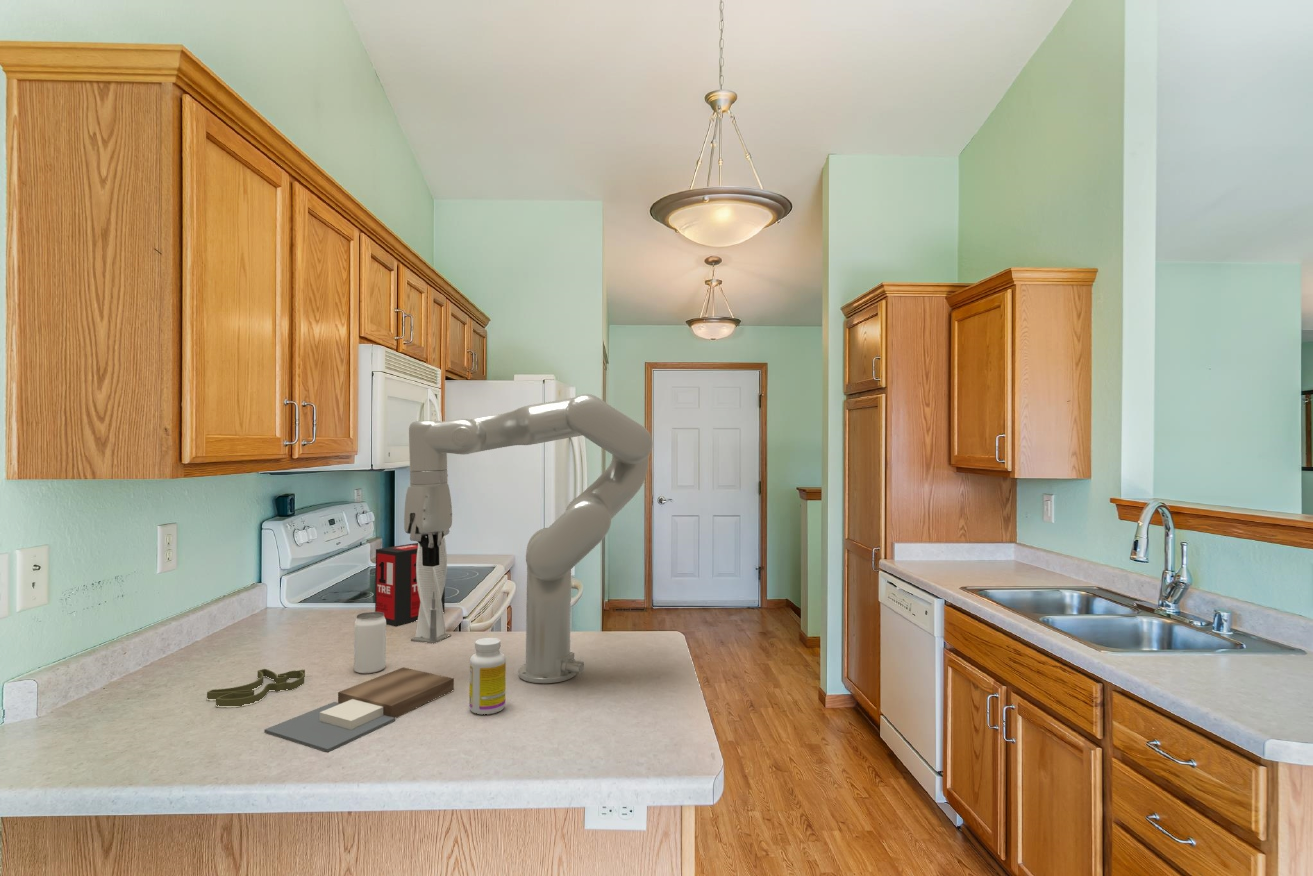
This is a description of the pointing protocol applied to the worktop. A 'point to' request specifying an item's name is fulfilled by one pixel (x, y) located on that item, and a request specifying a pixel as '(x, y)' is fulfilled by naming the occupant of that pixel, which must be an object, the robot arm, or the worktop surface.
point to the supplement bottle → (487, 677)
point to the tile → (351, 714)
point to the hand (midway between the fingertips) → (431, 565)
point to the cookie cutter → (245, 692)
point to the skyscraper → (431, 598)
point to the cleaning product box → (398, 584)
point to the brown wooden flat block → (399, 690)
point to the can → (370, 643)
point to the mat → (323, 730)
